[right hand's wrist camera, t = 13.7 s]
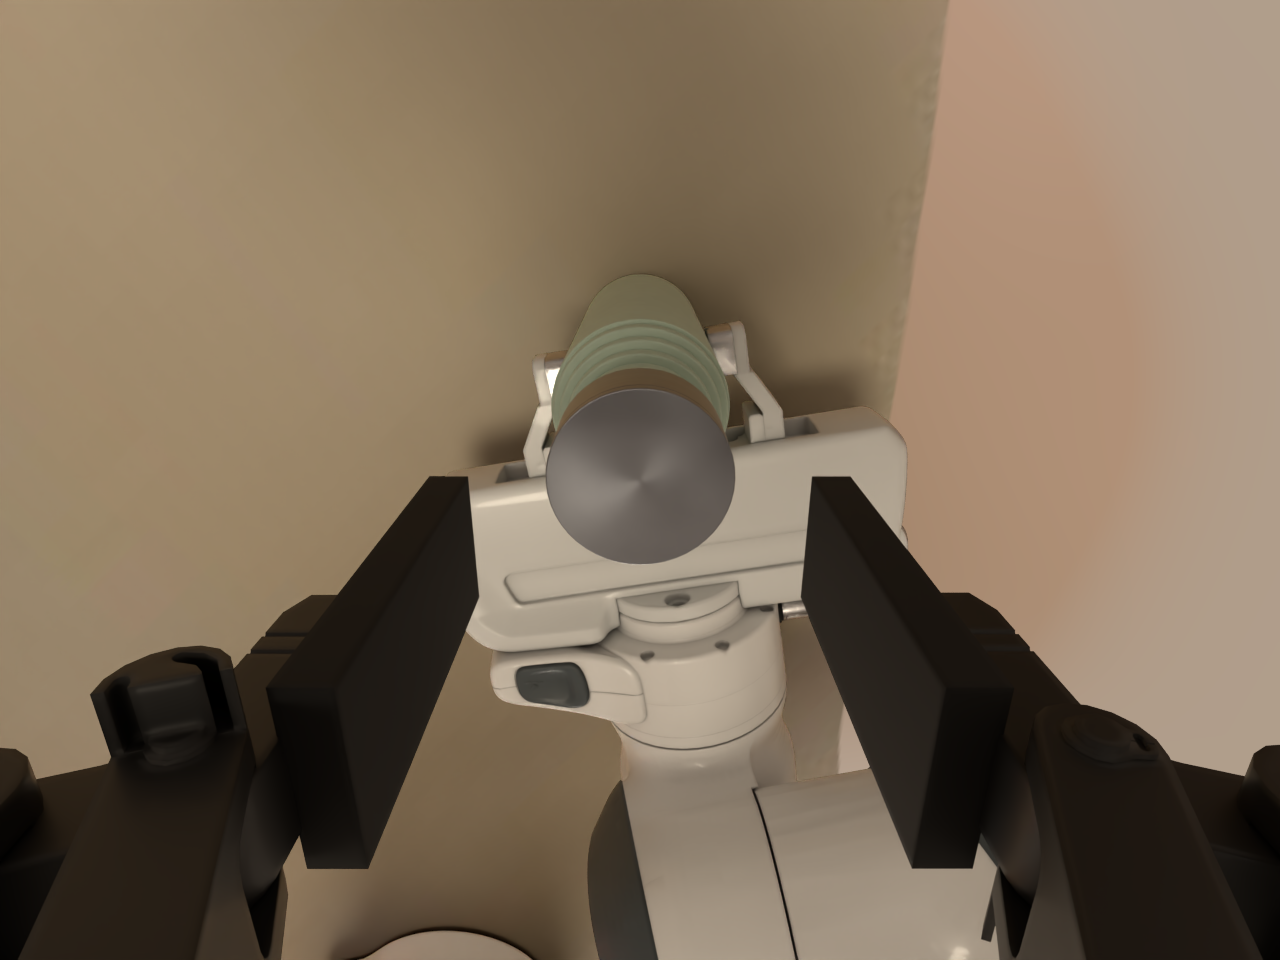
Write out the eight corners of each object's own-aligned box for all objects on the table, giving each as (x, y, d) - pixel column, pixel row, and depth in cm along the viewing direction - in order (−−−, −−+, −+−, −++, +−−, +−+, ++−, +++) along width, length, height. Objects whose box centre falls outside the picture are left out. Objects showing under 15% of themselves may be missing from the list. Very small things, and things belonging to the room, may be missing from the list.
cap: (520, 453, 18) (506, 483, 17) (638, 329, 17) (638, 346, 15) (642, 558, 20) (642, 597, 18) (761, 449, 18) (775, 479, 16)
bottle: (559, 334, 35) (475, 477, 17) (639, 248, 33) (637, 305, 15) (641, 411, 36) (643, 616, 18) (721, 331, 35) (806, 472, 17)
